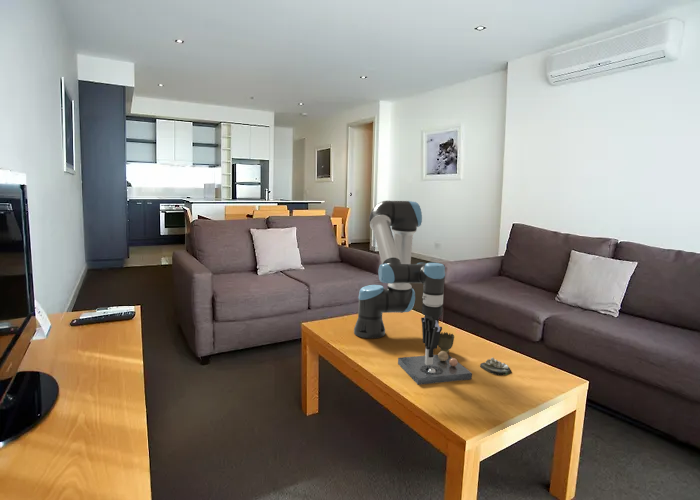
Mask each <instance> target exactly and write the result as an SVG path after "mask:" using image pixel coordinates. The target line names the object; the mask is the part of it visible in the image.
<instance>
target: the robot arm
mask: <svg viewBox="0 0 700 500" xmlns="http://www.w3.org/2000/svg"><path fill="white" fill-rule="evenodd" d="M422 213H423V212H422V209H421V206H420V204H419V203H418V202H416V201H412V200H383V201H380V202H378V203H377V204H376V205H374V207H373V208H372V209H371V212H370V213H369V217H368V222H369V227H370V229H371V230H372V231H373V234H374V238H375V241H376V246H377V249H378V252H379V259H380V261H381V264H379V267H378V270H377V271H378V273H377V274H378V280H379V282H380V283H382V284H387V288H384V286H383V285H380V284H370V285H365V286H363V287H361V288H360V289H359V292H358V314H357V317H358V318H357V319H356V322H355V325H354V328H353V333H354V335H355V336H356V337H360V338H362V339H380V338H382V337H384V336H385V335H386V328H385V324H384V321H383V314H384V313H386V314H387V313H388V314H389V313H391V314H392V313H394V314H395V313H397V314H398V313H400V314H401V313H402V314H404V313H408V312H411V311H412V310H413V308H414V305H415V301H416V292H415V290H414V288H412V284H422V285H423V289H422V290H423V291H422V297H421V298H422V306H421V313H422V315H423V316H424V317H421V318H420V320H421V332H422V333H421V335H422V343H423V344H424V347H425V349H424V350H425V352H424V354H425V355H424V356H425V364H426V365H432V364H433V355H435V354H434V353H435V351H434V350H437V349H438V348H439V346H438V342H439V338H440V333H441V332H443V331H442V330H443V326H440V325H439V324H440V321H439V317H441V316H442V315H443V305H444V291H445V290H444V289H445V288H444V287H445V277H446V266H445V265H444V264H443V263H439V262H427V263H426V262H417V263H411V262H412V261H411V260H412V250H413V247H412V246H413V239H414V238H413V236H414V234H415V233H416V232H417V228H419V227H421V226H422V222H423V215H422Z"/></svg>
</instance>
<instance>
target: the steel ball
mask: <svg viewBox="0 0 700 500" xmlns="http://www.w3.org/2000/svg"><path fill="white" fill-rule="evenodd" d="M427 372H431V373H435V372H436V370H435V369H434V368H430V369H428V371H427Z"/></svg>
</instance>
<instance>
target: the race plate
mask: <svg viewBox="0 0 700 500" xmlns="http://www.w3.org/2000/svg"><path fill="white" fill-rule="evenodd" d="M451 358H453V356H451V355H449V354H448V359H447V360H446V361H441V360H439V358H438V354H433V364H432V365H426V364H425V355H418V356H403V357H398V358H397V365H399V367H401V369H402V370H403V371H404V372H405V373H406V374H407V375H408V376H409V377H410V378H411V379H412V380H413V382H414V383H416V384H417V386H419V385H429V384H439V383H449V382H459V381H469V380H472V379H473V377H472V376H473V373H472V372H471V371H470V370H469V369H468V368H466V367H465V366H464V365H462V364H461V363H460V362H458V364H457V365H456V366H455V367H453V366H451V365H450V364H449V360H450V359H451ZM430 368H434V369H435V370H436V372H435V373H431V372H427V371H428V369H430Z"/></svg>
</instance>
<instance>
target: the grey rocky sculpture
mask: <svg viewBox="0 0 700 500" xmlns="http://www.w3.org/2000/svg"><path fill="white" fill-rule="evenodd" d="M479 366H480V368H481V369H482V370H484V371H485V372H486V373H487V372H488V373H490V374H492V375H496V376H508V375H510V374H512V373H513V371H512V369H511V368H510V366H509V365H508V364H506V363H505V362H502V361H498V359H495V358H494V357H491V358H488V359H487V360H486V361H485V362H481V363H480V364H479Z"/></svg>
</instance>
